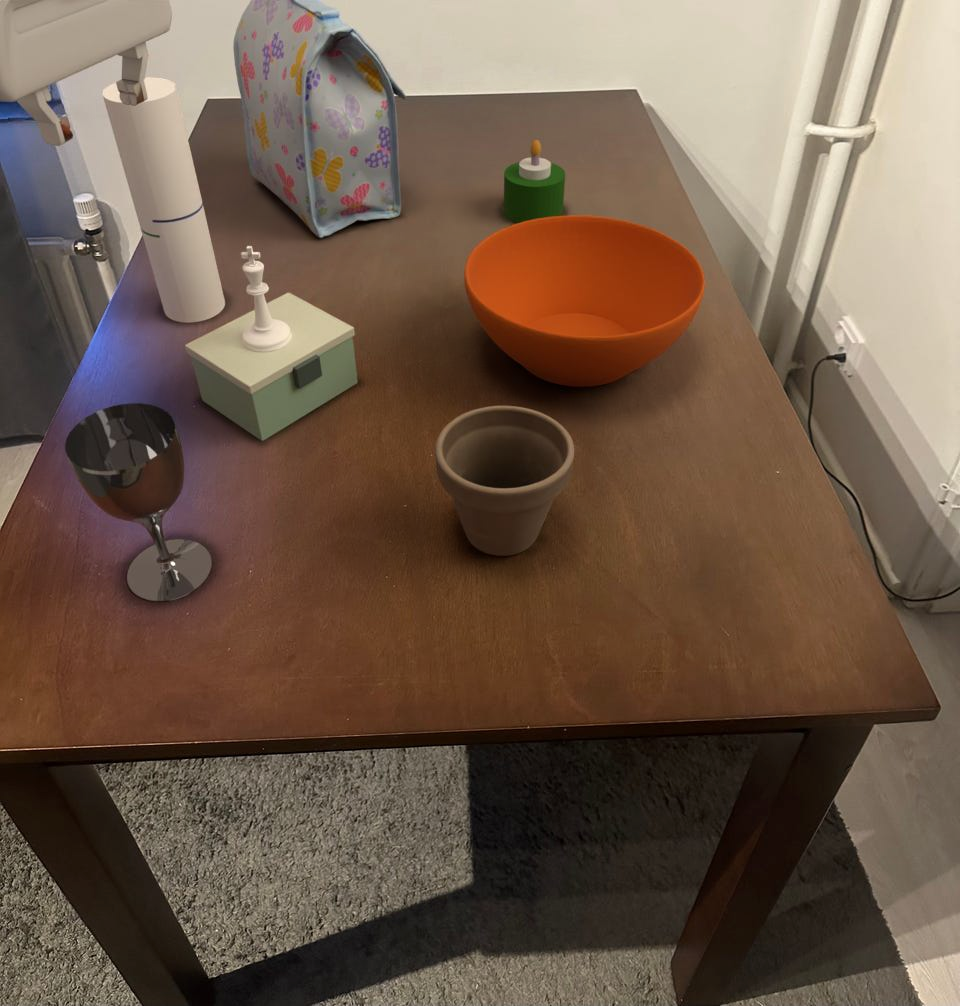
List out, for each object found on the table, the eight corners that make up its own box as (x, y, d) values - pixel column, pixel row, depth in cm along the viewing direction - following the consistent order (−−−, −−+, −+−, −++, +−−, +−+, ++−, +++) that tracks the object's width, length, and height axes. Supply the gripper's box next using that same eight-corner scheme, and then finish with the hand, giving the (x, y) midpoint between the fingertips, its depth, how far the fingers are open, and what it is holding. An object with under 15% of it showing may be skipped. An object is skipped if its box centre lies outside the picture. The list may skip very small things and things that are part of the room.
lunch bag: (423, 213, 124) (413, 2, 106) (314, 247, 117) (283, 28, 99) (347, 158, 137) (325, -38, 119) (245, 185, 131) (206, -18, 112)
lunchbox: (265, 445, 88) (252, 388, 84) (196, 398, 94) (181, 343, 89) (363, 384, 96) (357, 329, 91) (294, 344, 101) (285, 290, 96)
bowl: (472, 288, 110) (472, 212, 103) (677, 294, 109) (691, 217, 102) (457, 416, 92) (455, 333, 85) (703, 424, 91) (721, 341, 84)
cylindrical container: (217, 322, 104) (165, 103, 87) (157, 322, 104) (92, 102, 87) (230, 290, 109) (183, 77, 92) (172, 290, 110) (115, 77, 92)
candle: (496, 221, 122) (497, 148, 115) (512, 195, 128) (513, 124, 121) (555, 229, 121) (559, 156, 114) (568, 202, 126) (573, 131, 119)
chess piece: (247, 324, 91) (227, 234, 84) (295, 324, 91) (279, 234, 84) (237, 352, 88) (217, 260, 81) (287, 352, 88) (271, 260, 81)
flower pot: (511, 470, 86) (513, 385, 79) (592, 536, 79) (603, 451, 72) (413, 523, 81) (407, 438, 74) (492, 599, 74) (493, 513, 67)
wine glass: (185, 523, 81) (141, 390, 70) (234, 569, 77) (196, 436, 66) (104, 569, 77) (45, 435, 66) (152, 621, 73) (96, 487, 62)
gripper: (103, -104, 72) (146, 77, 81) (-103, -49, 58) (-23, 160, 68) (169, -97, 70) (204, 86, 80) (-27, -39, 56) (43, 174, 66)
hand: (98, 121), depth 74 cm, fingers open, 8 cm apart
